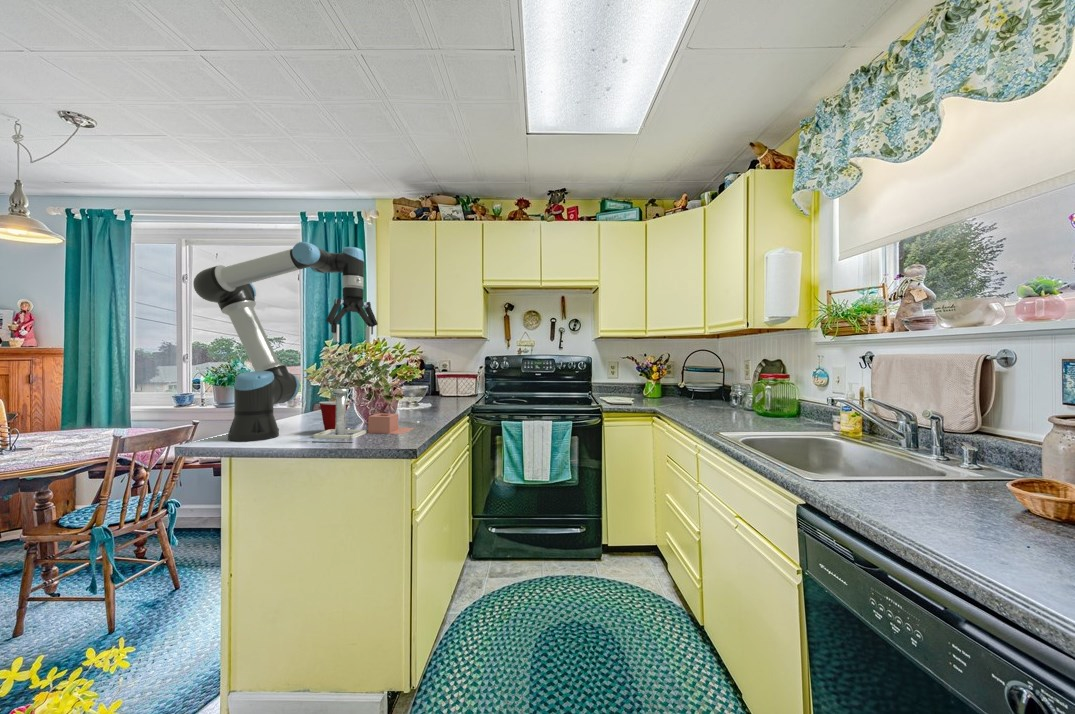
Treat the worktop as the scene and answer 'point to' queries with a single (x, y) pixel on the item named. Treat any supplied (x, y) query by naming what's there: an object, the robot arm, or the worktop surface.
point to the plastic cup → (329, 414)
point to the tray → (322, 435)
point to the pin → (340, 411)
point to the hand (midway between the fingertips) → (352, 342)
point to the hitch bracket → (385, 424)
